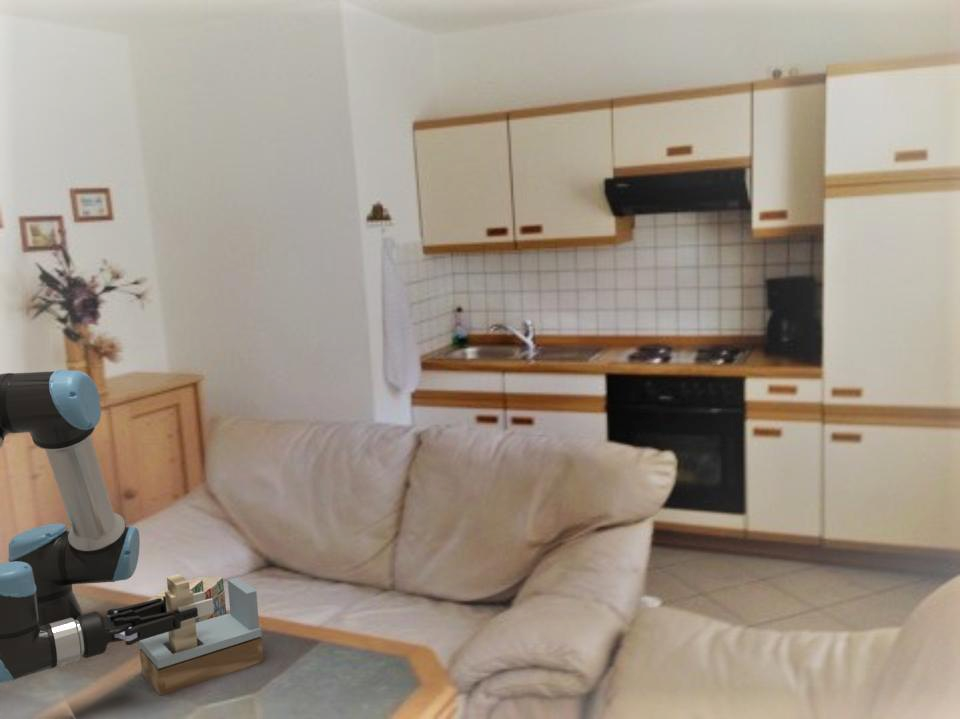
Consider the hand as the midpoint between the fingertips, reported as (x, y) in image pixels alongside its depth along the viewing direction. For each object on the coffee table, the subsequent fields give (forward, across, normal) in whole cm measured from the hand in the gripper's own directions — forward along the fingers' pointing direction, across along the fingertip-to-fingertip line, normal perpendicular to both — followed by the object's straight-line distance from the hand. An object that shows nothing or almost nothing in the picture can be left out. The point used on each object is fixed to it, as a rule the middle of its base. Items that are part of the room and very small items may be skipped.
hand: (208, 602), depth 164 cm
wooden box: (-1, -2, -14) cm, 15 cm away
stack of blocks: (+2, -20, -15) cm, 25 cm away
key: (-5, 0, -14) cm, 15 cm away
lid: (-1, -2, -8) cm, 9 cm away
